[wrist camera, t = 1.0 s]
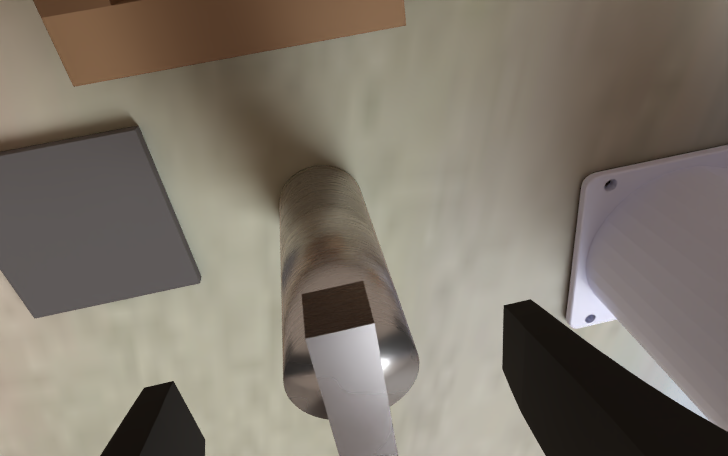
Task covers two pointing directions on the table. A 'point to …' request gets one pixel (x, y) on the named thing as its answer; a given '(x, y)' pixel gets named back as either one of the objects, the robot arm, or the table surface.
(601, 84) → the table surface
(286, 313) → the grey upright piece
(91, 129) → the table surface
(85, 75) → the walnut socket block
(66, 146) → the rubber mat
